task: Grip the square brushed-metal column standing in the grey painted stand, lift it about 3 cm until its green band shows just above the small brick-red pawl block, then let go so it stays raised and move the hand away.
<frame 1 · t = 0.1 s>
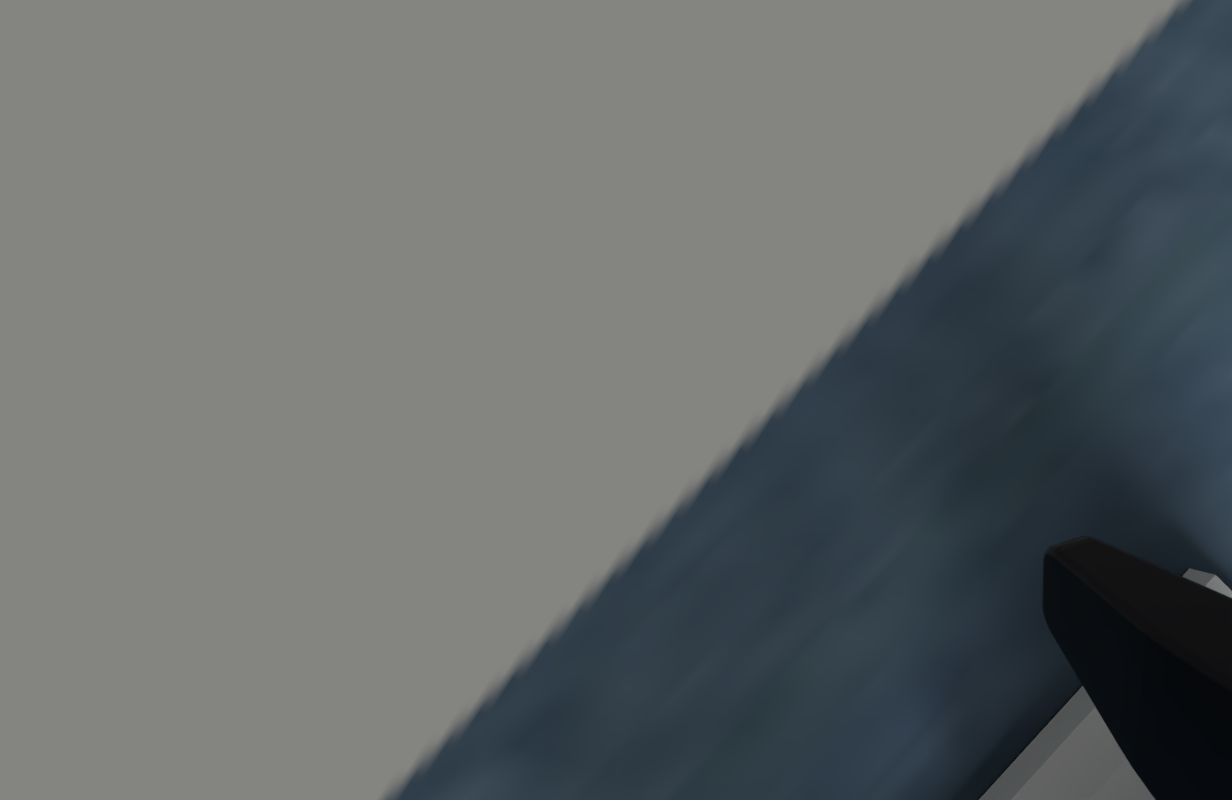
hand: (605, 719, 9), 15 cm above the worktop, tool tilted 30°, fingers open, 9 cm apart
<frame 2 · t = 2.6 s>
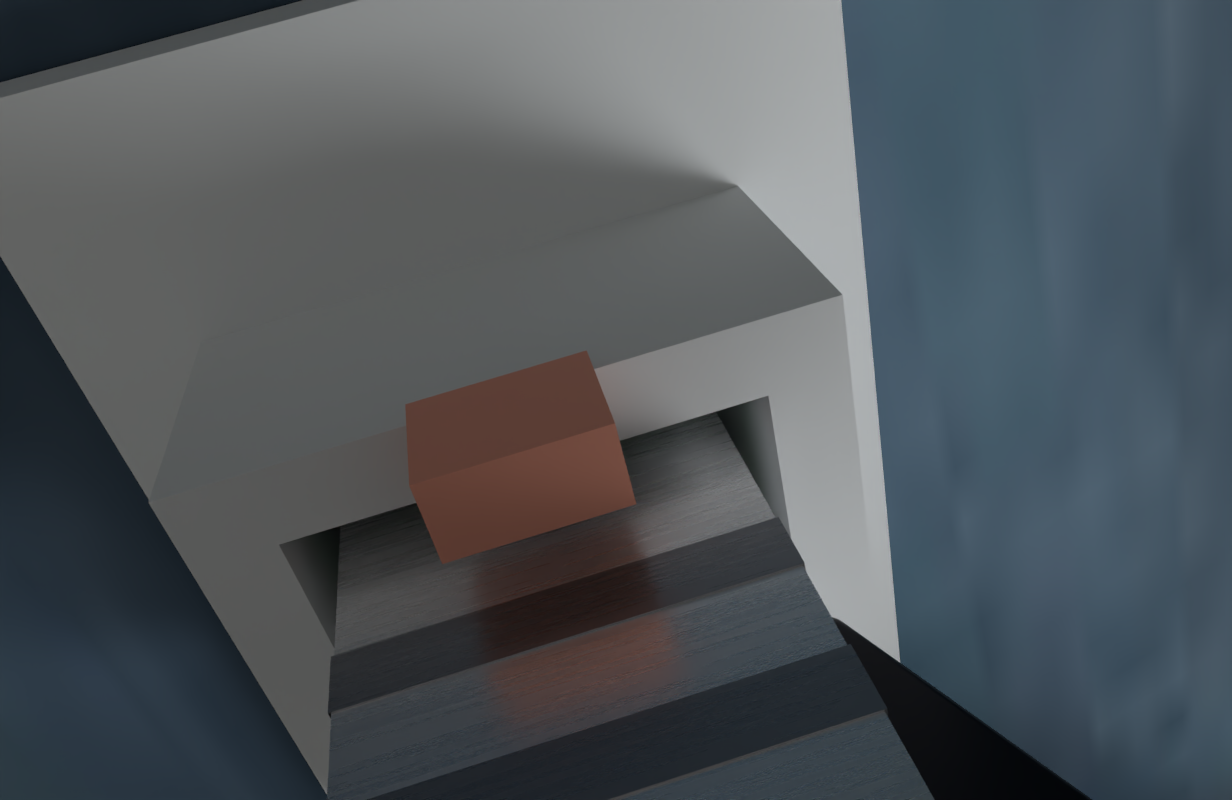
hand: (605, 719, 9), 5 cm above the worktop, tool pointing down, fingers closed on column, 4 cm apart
column: (617, 769, 9), point 6 cm above the worktop, slide at 0.0 cm, touching gripper
stand base: (533, 436, 14), on the worktop
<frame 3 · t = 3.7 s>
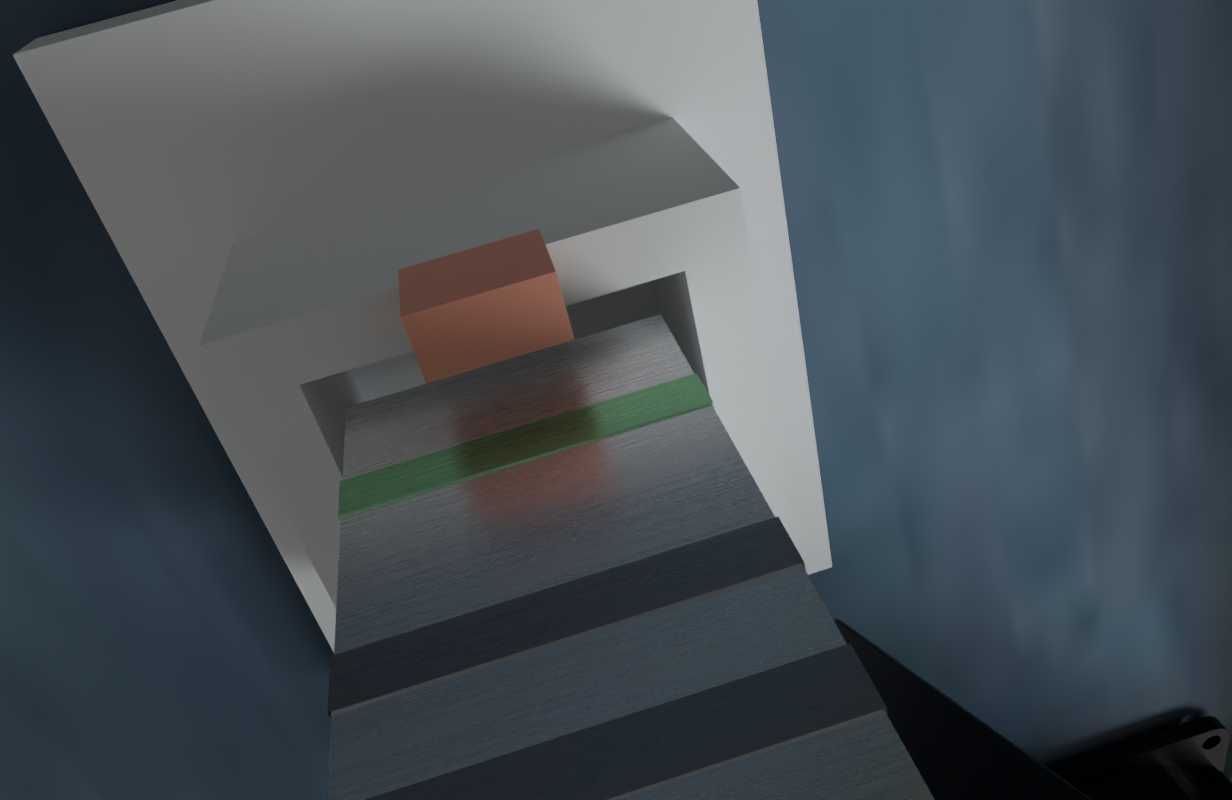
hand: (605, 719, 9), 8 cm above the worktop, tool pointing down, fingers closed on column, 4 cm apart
column: (617, 768, 9), point 8 cm above the worktop, slide at 2.9 cm, touching gripper
stand base: (509, 340, 16), on the worktop
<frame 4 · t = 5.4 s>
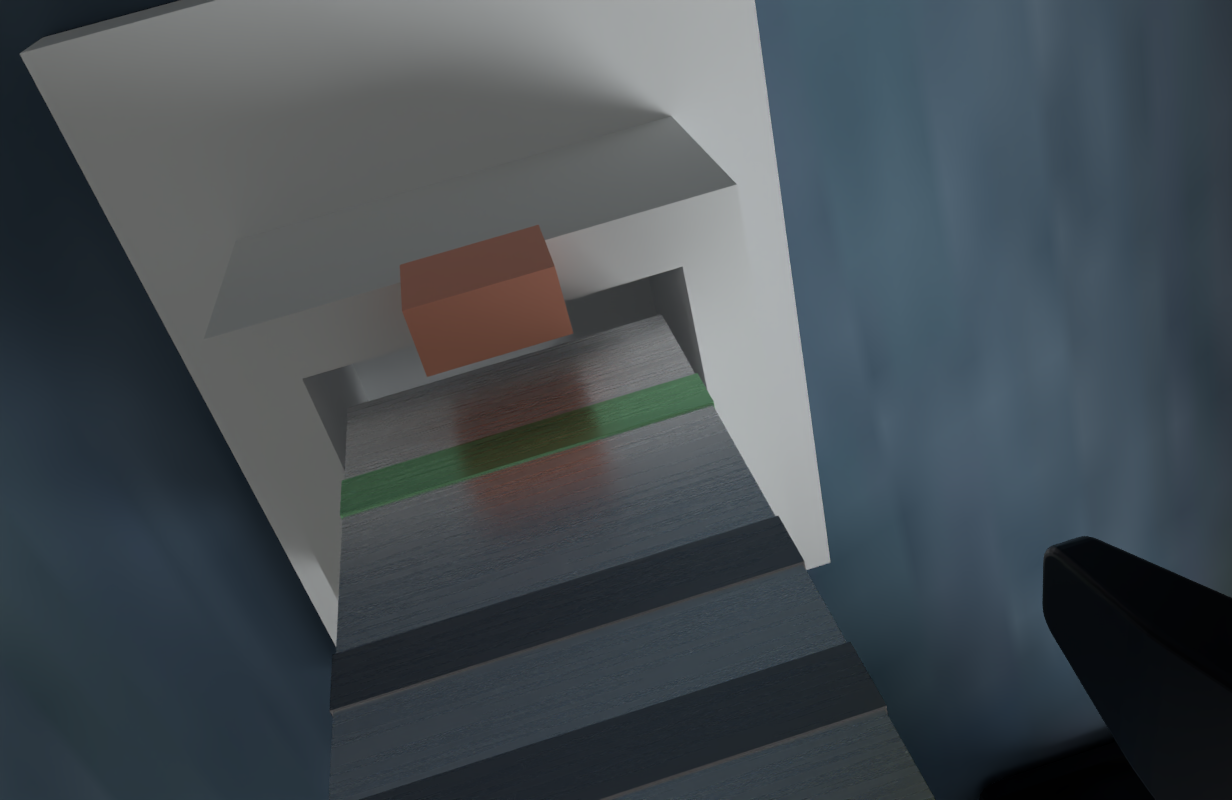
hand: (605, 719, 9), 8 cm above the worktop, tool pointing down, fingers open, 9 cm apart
column: (617, 767, 9), point 9 cm above the worktop, slide at 3.0 cm
stand base: (509, 336, 16), on the worktop
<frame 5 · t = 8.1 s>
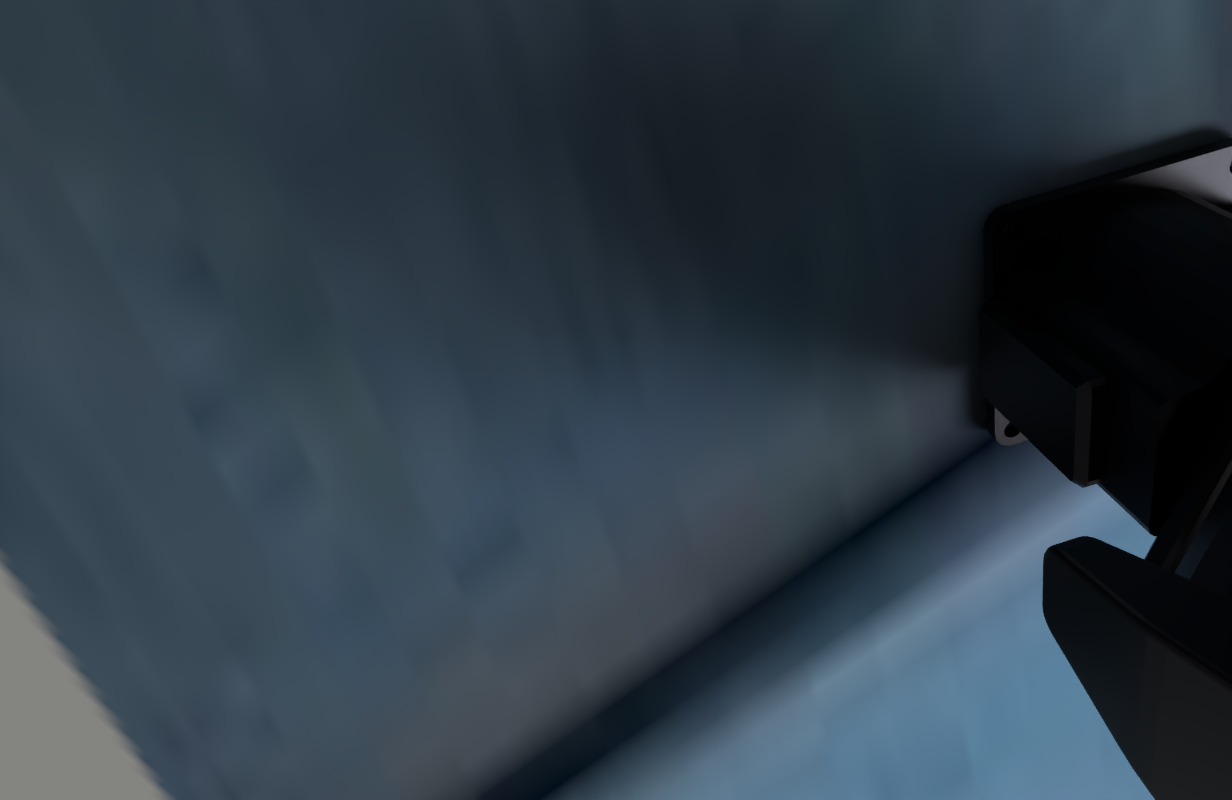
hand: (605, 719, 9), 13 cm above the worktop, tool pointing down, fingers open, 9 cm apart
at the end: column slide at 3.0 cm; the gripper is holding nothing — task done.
